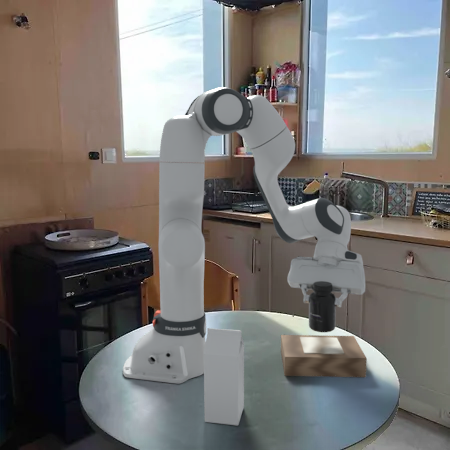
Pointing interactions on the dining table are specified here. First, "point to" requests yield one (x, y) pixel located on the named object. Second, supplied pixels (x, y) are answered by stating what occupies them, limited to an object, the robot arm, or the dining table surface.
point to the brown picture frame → (322, 356)
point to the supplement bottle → (322, 307)
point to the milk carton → (223, 376)
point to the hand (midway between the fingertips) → (321, 304)
